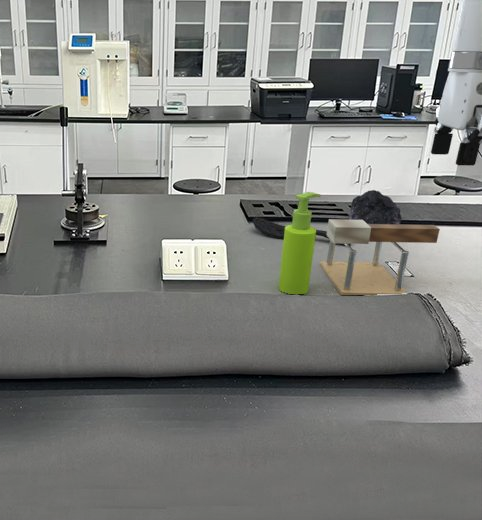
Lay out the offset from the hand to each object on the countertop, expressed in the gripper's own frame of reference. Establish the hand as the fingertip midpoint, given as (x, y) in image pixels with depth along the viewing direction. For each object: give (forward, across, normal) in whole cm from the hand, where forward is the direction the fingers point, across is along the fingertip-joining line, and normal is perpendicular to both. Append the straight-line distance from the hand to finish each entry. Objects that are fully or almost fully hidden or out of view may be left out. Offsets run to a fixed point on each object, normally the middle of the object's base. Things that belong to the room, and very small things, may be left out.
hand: (451, 159), depth 100 cm
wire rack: (+26, +2, +12) cm, 29 cm away
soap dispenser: (+26, -3, +27) cm, 38 cm away
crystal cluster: (+26, +38, -3) cm, 46 cm away
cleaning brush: (+17, +2, +9) cm, 19 cm away
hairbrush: (+26, +28, +19) cm, 43 cm away
